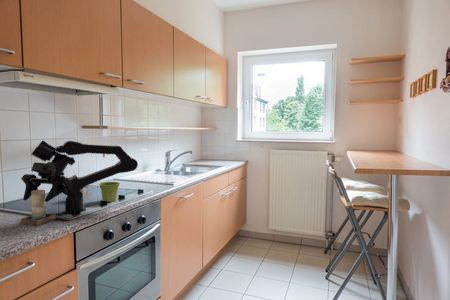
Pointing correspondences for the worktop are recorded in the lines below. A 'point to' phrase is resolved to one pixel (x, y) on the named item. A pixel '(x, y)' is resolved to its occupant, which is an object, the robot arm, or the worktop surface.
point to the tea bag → (85, 193)
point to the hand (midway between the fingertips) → (35, 200)
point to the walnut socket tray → (29, 220)
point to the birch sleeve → (38, 204)
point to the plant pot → (109, 191)
